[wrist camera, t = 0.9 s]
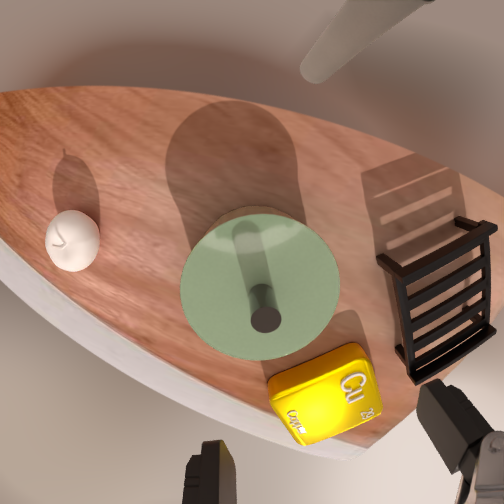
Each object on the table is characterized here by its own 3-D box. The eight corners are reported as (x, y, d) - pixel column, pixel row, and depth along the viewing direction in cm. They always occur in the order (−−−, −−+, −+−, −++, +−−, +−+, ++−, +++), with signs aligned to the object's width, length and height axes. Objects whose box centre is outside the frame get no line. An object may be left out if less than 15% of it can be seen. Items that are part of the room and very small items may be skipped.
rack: (372, 254, 36) (402, 278, 28) (460, 212, 35) (497, 224, 27) (393, 355, 41) (415, 386, 34) (468, 311, 40) (496, 333, 33)
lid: (154, 251, 26) (136, 273, 21) (307, 186, 25) (325, 193, 20) (222, 371, 31) (220, 407, 25) (352, 321, 30) (371, 351, 24)
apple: (103, 200, 32) (71, 211, 25) (115, 256, 34) (87, 280, 27) (59, 210, 32) (23, 223, 25) (71, 262, 34) (39, 285, 27)
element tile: (262, 378, 41) (265, 400, 36) (358, 336, 40) (370, 355, 35) (296, 431, 45) (301, 451, 41) (376, 397, 44) (386, 415, 39)
